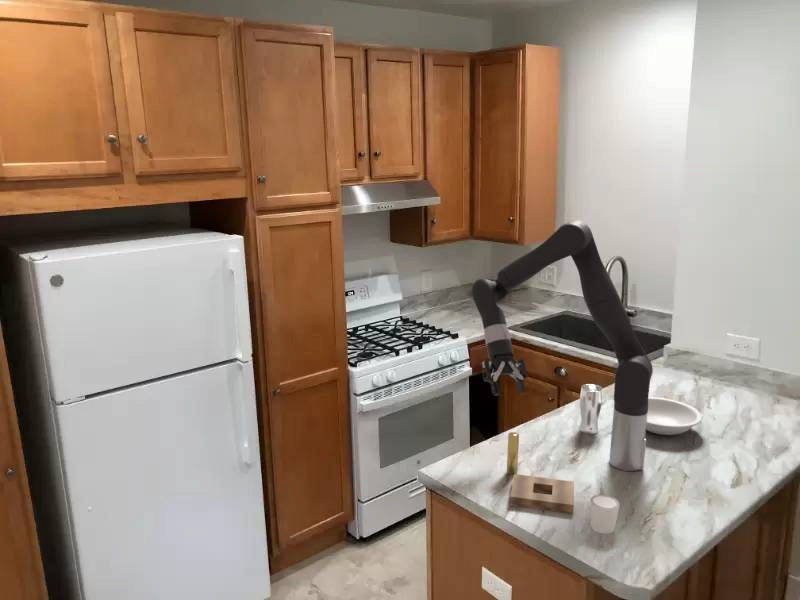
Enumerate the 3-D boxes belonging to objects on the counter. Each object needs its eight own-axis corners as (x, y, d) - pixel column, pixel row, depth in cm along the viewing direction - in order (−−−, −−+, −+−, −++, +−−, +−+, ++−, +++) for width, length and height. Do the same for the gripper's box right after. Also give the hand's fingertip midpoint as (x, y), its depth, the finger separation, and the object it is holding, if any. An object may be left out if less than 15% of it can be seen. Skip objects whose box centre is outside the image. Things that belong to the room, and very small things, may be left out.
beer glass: (576, 432, 207) (579, 389, 204) (579, 424, 214) (582, 382, 210) (598, 436, 205) (602, 392, 201) (600, 427, 211) (604, 385, 208)
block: (573, 489, 173) (573, 481, 172) (573, 513, 162) (573, 505, 161) (513, 482, 177) (514, 473, 176) (509, 505, 166) (510, 496, 165)
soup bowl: (685, 415, 221) (687, 398, 219) (711, 447, 197) (714, 428, 196) (614, 413, 223) (616, 395, 221) (632, 444, 200) (634, 424, 198)
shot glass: (584, 519, 159) (586, 494, 158) (610, 518, 160) (612, 493, 158) (594, 536, 153) (596, 510, 151) (622, 534, 153) (624, 508, 152)
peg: (517, 471, 183) (519, 432, 180) (516, 476, 180) (518, 437, 177) (507, 469, 184) (508, 431, 181) (506, 474, 181) (507, 436, 178)
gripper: (484, 338, 186) (495, 392, 180) (524, 337, 192) (536, 389, 186) (472, 346, 192) (482, 398, 187) (511, 344, 198) (522, 395, 193)
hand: (509, 394), depth 186 cm, fingers open, 8 cm apart
